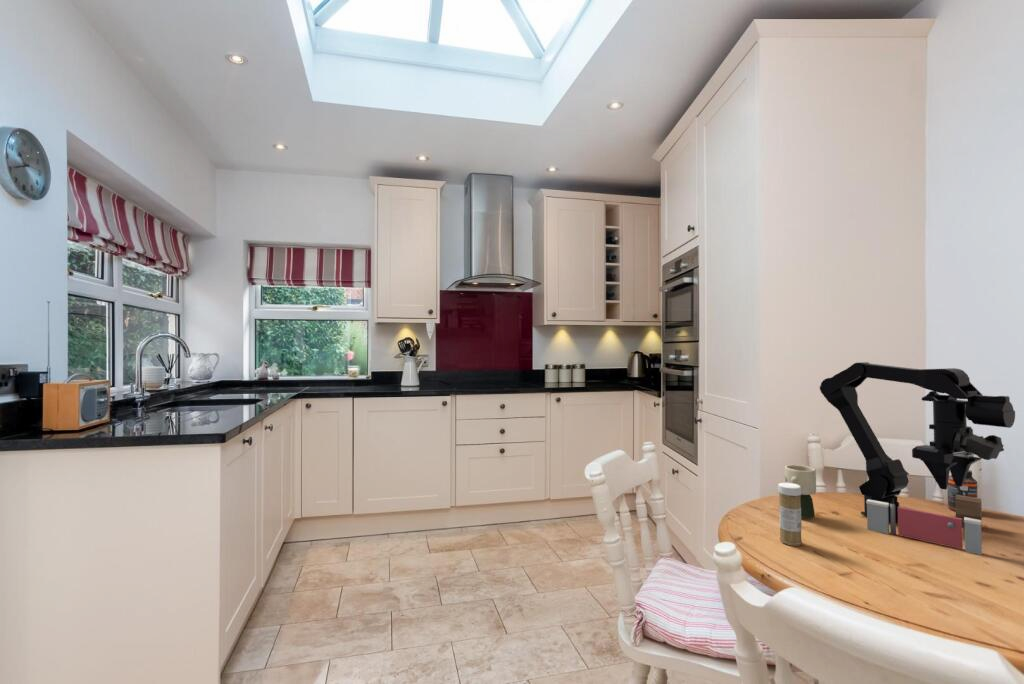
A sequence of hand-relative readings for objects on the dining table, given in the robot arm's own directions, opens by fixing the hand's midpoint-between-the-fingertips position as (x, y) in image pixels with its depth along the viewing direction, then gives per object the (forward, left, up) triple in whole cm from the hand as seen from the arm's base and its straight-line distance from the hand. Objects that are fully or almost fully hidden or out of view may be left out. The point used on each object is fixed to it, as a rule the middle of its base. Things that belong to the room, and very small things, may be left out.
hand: (951, 487), depth 109 cm
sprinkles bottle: (-39, -5, -12) cm, 41 cm away
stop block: (+10, +9, -12) cm, 18 cm away
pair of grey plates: (-8, -2, -12) cm, 15 cm away
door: (-7, -3, -12) cm, 14 cm away
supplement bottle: (+18, +21, -12) cm, 30 cm away
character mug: (-28, +13, -12) cm, 33 cm away
